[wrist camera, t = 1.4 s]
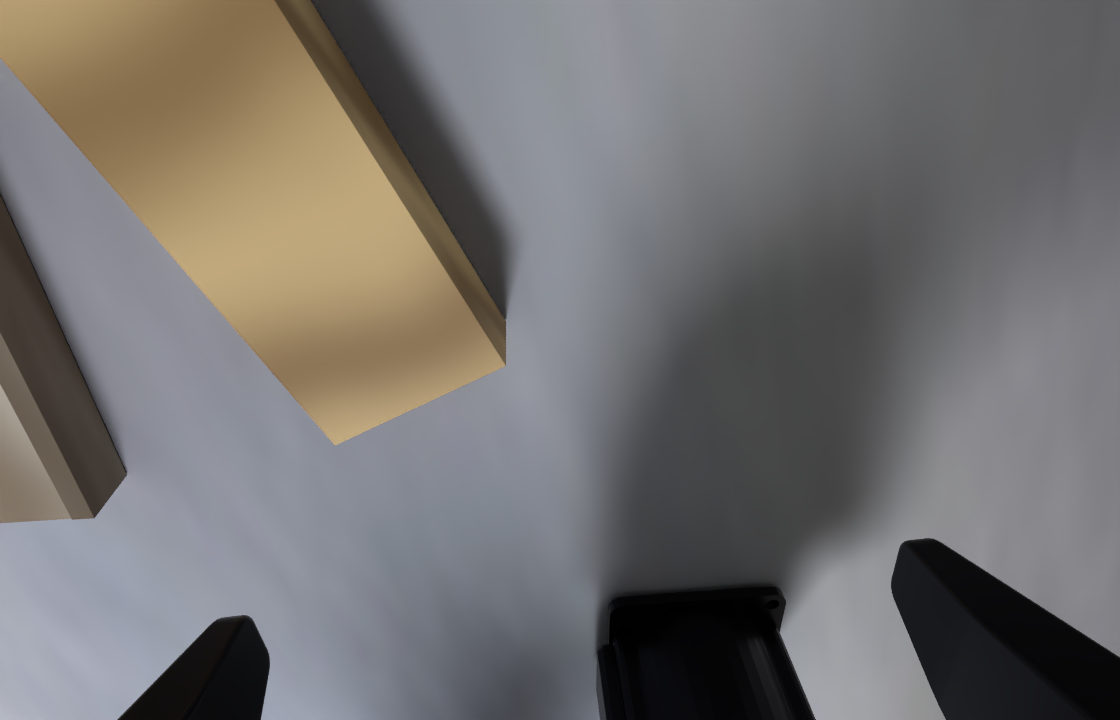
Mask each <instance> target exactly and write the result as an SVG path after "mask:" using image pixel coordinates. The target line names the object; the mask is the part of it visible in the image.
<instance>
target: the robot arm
mask: <svg viewBox="0 0 1120 720" xmlns="http://www.w3.org/2000/svg"><path fill="white" fill-rule="evenodd" d="M891 589H892V594H893V597H894V600H895V603H896V605H897V607H898V610H899V612H900V615H901V617H902V619H903V622H904V624H905V627H906V629H907V631H908V634H909V636H910V639H911V641H912V643H913V646H914V648H915V651H916V653H917V655H918V658H919V660H920V663H921V665H922V667H923V670H924V672H925V675H926V677H927V679H928V682H929V684H930V687H931V689H932V691H933V693H934V696H935V698H936V700H937V702H938V705H939V707H940V709H941V711H942V713H943V714H944V716H945V718H946V720H1120V657H1119V656H1117V655H1115V654H1114V653H1112V652H1111V651H1109V650H1108V649H1106V648H1105V647H1103V646H1101V645H1100V644H1098V643H1097V642H1095V641H1094V640H1092V639H1091V638H1089V637H1087V636H1086V635H1084V634H1083V633H1081V632H1080V631H1078V630H1076V629H1075V628H1073V627H1072V626H1070V625H1069V624H1067V623H1066V622H1064V621H1062V620H1061V619H1059V618H1058V617H1056V616H1055V615H1053V614H1052V613H1050V612H1048V611H1047V610H1045V609H1044V608H1042V607H1041V606H1039V605H1038V604H1036V603H1034V602H1033V601H1031V600H1030V599H1028V598H1027V597H1025V596H1024V595H1022V594H1020V593H1019V592H1017V591H1016V590H1014V589H1013V588H1011V587H1010V586H1008V585H1006V584H1005V583H1003V582H1002V581H1000V580H999V579H997V578H996V577H994V576H992V575H991V574H989V573H988V572H986V571H985V570H983V569H982V568H980V567H978V566H977V565H975V564H974V563H972V562H971V561H969V560H968V559H966V558H964V557H963V556H961V555H960V554H958V553H957V552H955V551H954V550H952V549H950V548H949V547H947V546H946V545H944V544H943V543H941V542H939V541H937V540H935V539H931V538H925V539H917V540H908V541H905V542H903V543H902V544H901V546H900V548H899V552H898V556H897V560H896V564H895V568H894V572H893V575H892V580H891ZM785 605H786V600H785V598H784V595H783V593H782V591H781V590H780V589H779V588H777V587H772V586H770V587H756V588H742V589H727V590H713V591H699V592H685V593H671V594H657V595H643V596H629V597H620V598H616V599H614V600H612V601H611V602H610V603H609V606H608V632H607V644H604V645H601V646H600V648H599V649H598V650H597V681H596V690H597V698H598V706H599V714H600V720H816V719H815V717H814V715H813V712H812V710H811V707H810V705H809V702H808V700H807V698H806V695H805V693H804V690H803V688H802V686H801V683H800V681H799V678H798V676H797V674H796V671H795V669H794V666H793V664H792V661H791V659H790V657H789V654H788V652H787V649H786V647H785V645H784V642H783V640H782V637H781V635H780V633H779V632H780V627H781V623H782V619H783V614H784V610H785ZM269 668H270V658H269V653H268V650H267V648H266V646H265V644H264V642H263V640H262V638H261V636H260V633H259V631H258V629H257V627H256V625H255V623H254V621H253V620H252V618H250V617H249V616H247V615H241V616H232V617H224V618H220V619H217V620H216V621H214V622H213V623H212V624H211V625H210V626H209V627H208V628H207V629H206V630H205V631H204V632H203V633H202V634H201V635H200V636H199V637H198V638H197V639H196V640H195V641H194V642H193V643H192V644H191V645H190V646H189V647H188V648H187V649H186V650H185V651H184V652H183V653H182V654H181V655H180V656H179V657H178V658H177V659H176V660H175V661H174V662H173V664H172V665H171V666H170V667H169V668H168V669H167V670H166V671H165V672H164V673H163V674H162V675H161V676H160V677H159V678H158V679H157V680H156V681H155V682H154V683H153V684H152V685H151V686H150V687H149V688H148V689H147V690H146V691H145V692H144V693H143V694H142V695H141V696H140V697H139V698H138V699H137V700H136V701H135V702H134V703H133V704H132V705H131V706H130V707H129V708H128V709H127V710H126V711H125V712H124V713H123V715H122V716H121V717H120V718H119V719H118V720H261V715H262V709H263V704H264V698H265V692H266V686H267V681H268V675H269Z"/></svg>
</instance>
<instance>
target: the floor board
mask: <svg viewBox="0 0 1120 720" xmlns="http://www.w3.org/2000/svg"><path fill="white" fill-rule="evenodd" d="M126 476H127V474H126V472H125V470H124V467H123V465H122V463H121V461H120V459H119V456H118V454H117V452H116V450H115V448H114V445H113V443H112V441H111V439H110V437H109V434H108V432H107V430H106V428H105V426H104V423H103V421H102V419H101V417H100V414H99V412H98V410H97V408H96V406H95V403H94V401H93V399H92V397H91V395H90V392H89V390H88V388H87V386H86V384H85V381H84V379H83V377H82V375H81V373H80V370H79V368H78V366H77V364H76V361H75V359H74V357H73V355H72V353H71V350H70V348H69V346H68V344H67V342H66V339H65V337H64V335H63V333H62V331H61V328H60V326H59V324H58V322H57V320H56V317H55V315H54V313H53V311H52V308H51V306H50V304H49V302H48V300H47V297H46V295H45V293H44V291H43V289H42V286H41V284H40V282H39V280H38V278H37V275H36V273H35V271H34V269H33V266H32V264H31V262H30V260H29V258H28V255H27V253H26V251H25V249H24V247H23V244H22V242H21V240H20V238H19V236H18V233H17V231H16V229H15V227H14V225H13V222H12V220H11V218H10V216H9V213H8V211H7V209H6V207H5V205H4V202H3V200H2V198H1V196H0V523H9V522H25V521H41V520H57V519H72V520H73V519H89V518H95V517H96V515H97V514H98V513H99V511H100V510H101V509H102V507H103V506H104V505H105V503H106V502H107V501H108V499H109V498H110V497H111V495H112V494H113V493H114V491H115V490H116V489H117V487H118V486H119V485H120V484H121V482H122V481H123V480H124V478H125V477H126Z"/></svg>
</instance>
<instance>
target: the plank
mask: <svg viewBox="0 0 1120 720" xmlns="http://www.w3.org/2000/svg"><path fill="white" fill-rule="evenodd" d="M0 58H1V59H2V60H3V61H4V63H5V64H6V65H7V66H8V67H9V68H10V70H11V71H12V72H13V73H14V74H15V75H16V76H17V78H18V79H19V80H20V81H21V82H22V83H23V85H24V86H25V87H26V88H27V89H28V90H29V92H30V93H31V94H32V95H33V96H34V97H35V98H36V100H37V101H38V102H39V103H40V104H41V105H42V107H43V108H44V109H45V110H46V111H47V112H48V114H49V115H50V116H51V117H52V118H53V119H54V120H55V122H56V123H57V124H58V125H59V126H60V127H61V129H62V130H63V131H64V132H65V133H66V134H67V136H68V137H69V138H70V139H71V140H72V141H73V142H74V144H75V145H76V146H77V147H78V148H79V149H80V151H81V152H82V153H83V154H84V155H85V156H86V158H87V159H88V160H89V161H90V162H91V163H92V164H93V166H94V167H95V168H96V169H97V170H98V171H99V173H100V174H101V175H102V176H103V177H104V178H105V180H106V181H107V182H108V183H109V184H110V185H111V187H112V188H113V189H114V190H115V191H116V192H117V193H118V195H119V196H120V197H121V198H122V199H123V200H124V202H125V203H126V204H127V205H128V206H129V207H130V209H131V210H132V211H133V212H134V213H135V214H136V215H137V217H138V218H139V219H140V220H141V221H142V222H143V224H144V225H145V226H146V227H147V228H148V229H149V231H150V232H151V233H152V234H153V235H154V236H155V237H156V239H157V240H158V241H159V242H160V243H161V244H162V246H163V247H164V248H165V249H166V250H167V251H168V253H169V254H170V255H171V256H172V257H173V258H174V259H175V261H176V262H177V263H178V264H179V265H180V266H181V268H182V269H183V270H184V271H185V272H186V273H187V275H188V276H189V277H190V278H191V279H192V280H193V281H194V283H195V284H196V285H197V286H198V287H199V288H200V290H201V291H202V292H203V293H204V294H205V295H206V297H207V298H208V299H209V300H210V301H211V302H212V303H213V305H214V306H215V307H216V308H217V309H218V310H219V312H220V313H221V314H222V315H223V316H224V317H225V319H226V320H227V321H228V322H229V323H230V324H231V325H232V327H233V328H234V329H235V330H236V331H237V332H238V334H239V335H240V336H241V337H242V338H243V339H244V341H245V342H246V343H247V344H248V345H249V346H250V347H251V349H252V350H253V351H254V352H255V353H256V354H257V356H258V357H259V358H260V359H261V360H262V361H263V363H264V364H265V365H266V366H267V367H268V368H269V370H270V371H271V372H272V373H273V374H274V375H275V376H276V378H277V379H278V380H279V381H280V382H281V383H282V385H283V386H284V387H285V388H286V389H287V390H288V392H289V393H290V394H291V395H292V396H293V397H294V398H295V400H296V401H297V402H298V403H299V404H300V405H301V407H302V408H303V409H304V410H305V411H306V412H307V414H308V415H309V416H310V417H311V418H312V419H313V420H314V422H315V423H316V424H317V425H318V426H319V427H320V429H321V430H322V431H323V432H324V433H325V434H326V436H327V437H328V438H329V439H330V440H331V441H332V442H333V444H334V445H337V444H339V443H341V442H343V441H346V440H348V439H350V438H352V437H354V436H356V435H358V434H361V433H363V432H365V431H367V430H369V429H371V428H373V427H376V426H378V425H380V424H382V423H384V422H386V421H389V420H391V419H393V418H395V417H397V416H399V415H401V414H404V413H406V412H408V411H410V410H412V409H414V408H416V407H419V406H421V405H423V404H425V403H427V402H429V401H431V400H434V399H436V398H438V397H440V396H442V395H444V394H447V393H449V392H451V391H453V390H455V389H457V388H459V387H462V386H464V385H466V384H468V383H470V382H472V381H474V380H477V379H479V378H481V377H483V376H485V375H487V374H489V373H492V372H494V371H496V370H498V369H500V368H502V367H505V366H506V321H505V319H504V318H503V316H502V314H501V313H500V311H499V309H498V308H497V306H496V304H495V303H494V301H493V299H492V298H491V296H490V295H489V293H488V291H487V290H486V288H485V286H484V285H483V283H482V281H481V280H480V278H479V276H478V275H477V273H476V272H475V270H474V268H473V267H472V265H471V263H470V262H469V260H468V258H467V257H466V255H465V253H464V252H463V250H462V248H461V247H460V245H459V244H458V242H457V240H456V239H455V237H454V235H453V234H452V232H451V230H450V229H449V227H448V225H447V224H446V222H445V220H444V219H443V217H442V216H441V214H440V212H439V211H438V209H437V207H436V206H435V204H434V202H433V201H432V199H431V197H430V196H429V194H428V193H427V191H426V189H425V188H424V186H423V184H422V183H421V181H420V179H419V178H418V176H417V174H416V173H415V171H414V169H413V168H412V166H411V165H410V163H409V161H408V160H407V158H406V156H405V155H404V153H403V151H402V150H401V148H400V146H399V145H398V143H397V142H396V140H395V138H394V137H393V135H392V133H391V132H390V130H389V128H388V127H387V125H386V123H385V122H384V120H383V118H382V117H381V115H380V114H379V112H378V110H377V109H376V107H375V105H374V104H373V102H372V100H371V99H370V97H369V95H368V94H367V92H366V90H365V89H364V87H363V86H362V84H361V82H360V81H359V79H358V77H357V76H356V74H355V72H354V71H353V69H352V67H351V66H350V64H349V63H348V61H347V59H346V58H345V56H344V54H343V53H342V51H341V49H340V48H339V46H338V44H337V43H336V41H335V39H334V38H333V36H332V35H331V33H330V31H329V30H328V28H327V26H326V25H325V23H324V21H323V20H322V18H321V16H320V15H319V13H318V11H317V10H316V8H315V7H314V5H313V3H312V2H311V0H0Z"/></svg>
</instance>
